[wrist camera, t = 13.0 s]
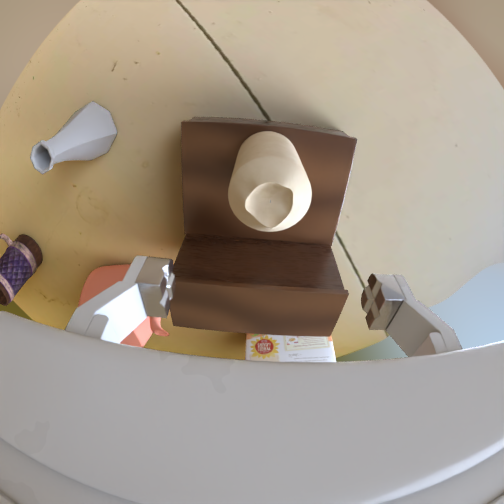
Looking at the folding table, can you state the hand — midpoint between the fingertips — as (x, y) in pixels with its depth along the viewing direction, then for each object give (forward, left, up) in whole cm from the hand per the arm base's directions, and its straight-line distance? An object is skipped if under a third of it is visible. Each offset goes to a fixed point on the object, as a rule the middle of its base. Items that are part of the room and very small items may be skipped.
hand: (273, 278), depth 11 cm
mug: (+16, -41, -22) cm, 49 cm away
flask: (-2, -21, -22) cm, 30 cm away
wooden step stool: (+6, 0, -21) cm, 22 cm away
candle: (0, 0, -17) cm, 17 cm away
